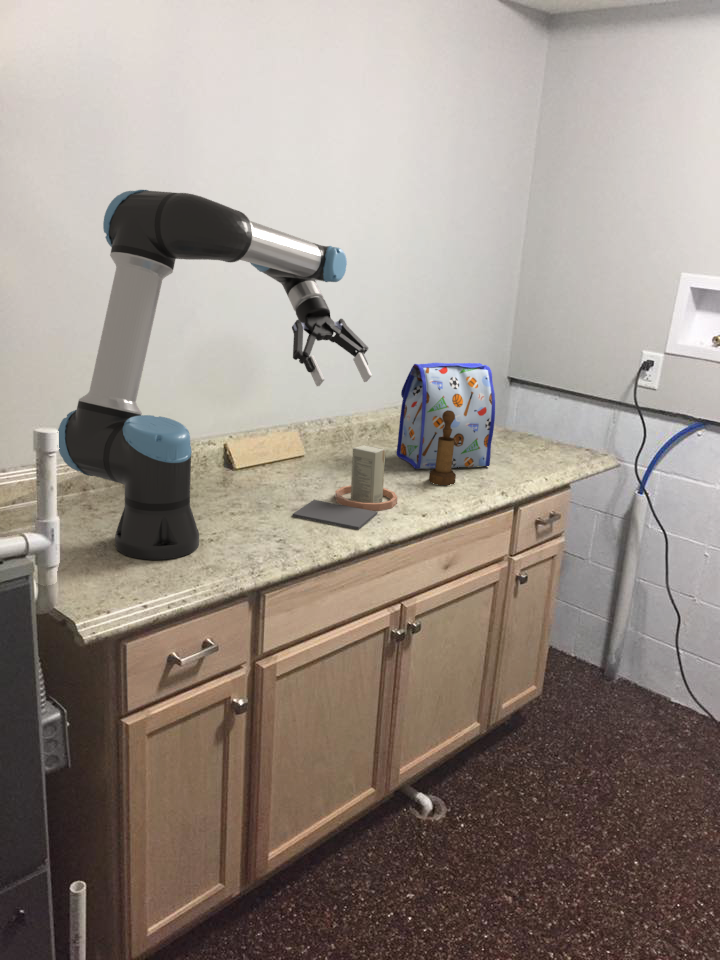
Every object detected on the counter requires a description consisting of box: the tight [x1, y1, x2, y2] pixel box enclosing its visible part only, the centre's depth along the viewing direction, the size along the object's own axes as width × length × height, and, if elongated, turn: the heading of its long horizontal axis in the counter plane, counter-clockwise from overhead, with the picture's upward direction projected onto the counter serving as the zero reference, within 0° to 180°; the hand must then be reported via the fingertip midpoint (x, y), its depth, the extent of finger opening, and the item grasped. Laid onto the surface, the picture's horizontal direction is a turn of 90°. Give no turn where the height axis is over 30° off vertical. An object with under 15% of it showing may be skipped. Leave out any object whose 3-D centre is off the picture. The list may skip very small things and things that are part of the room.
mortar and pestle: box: [428, 410, 457, 486], centre depth 205 cm, size 7×6×18 cm
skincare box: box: [350, 444, 386, 503], centre depth 188 cm, size 6×4×12 cm
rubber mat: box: [292, 499, 378, 531], centre depth 178 cm, size 11×15×1 cm
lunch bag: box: [396, 362, 496, 470], centre depth 222 cm, size 23×17×27 cm
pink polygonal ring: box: [334, 484, 398, 512], centre depth 189 cm, size 14×14×2 cm
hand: (345, 381), depth 190 cm, fingers open, 13 cm apart
